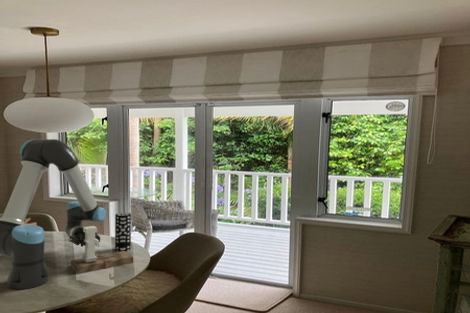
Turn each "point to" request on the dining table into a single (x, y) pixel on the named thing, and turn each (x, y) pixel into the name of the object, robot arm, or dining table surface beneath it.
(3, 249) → the robot arm
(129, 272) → the dining table surface
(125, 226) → the spotted tube
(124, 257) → the fader console
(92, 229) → the fader knob
